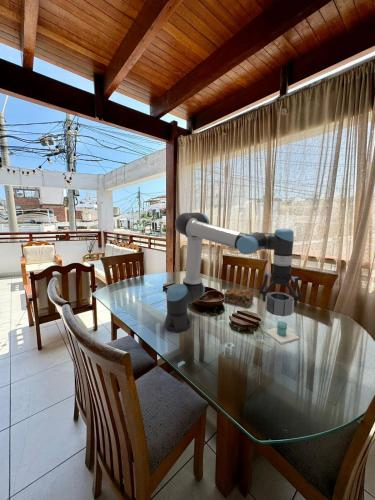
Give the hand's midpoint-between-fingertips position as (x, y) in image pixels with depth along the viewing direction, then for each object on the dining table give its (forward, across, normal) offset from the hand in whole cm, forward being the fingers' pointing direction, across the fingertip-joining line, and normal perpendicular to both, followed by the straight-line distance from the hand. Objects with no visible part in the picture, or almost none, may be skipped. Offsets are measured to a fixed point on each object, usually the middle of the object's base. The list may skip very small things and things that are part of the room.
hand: (278, 310), depth 100 cm
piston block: (+20, +2, +13) cm, 24 cm away
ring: (0, 0, 0) cm, 0 cm away
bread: (+20, -27, +45) cm, 56 cm away
